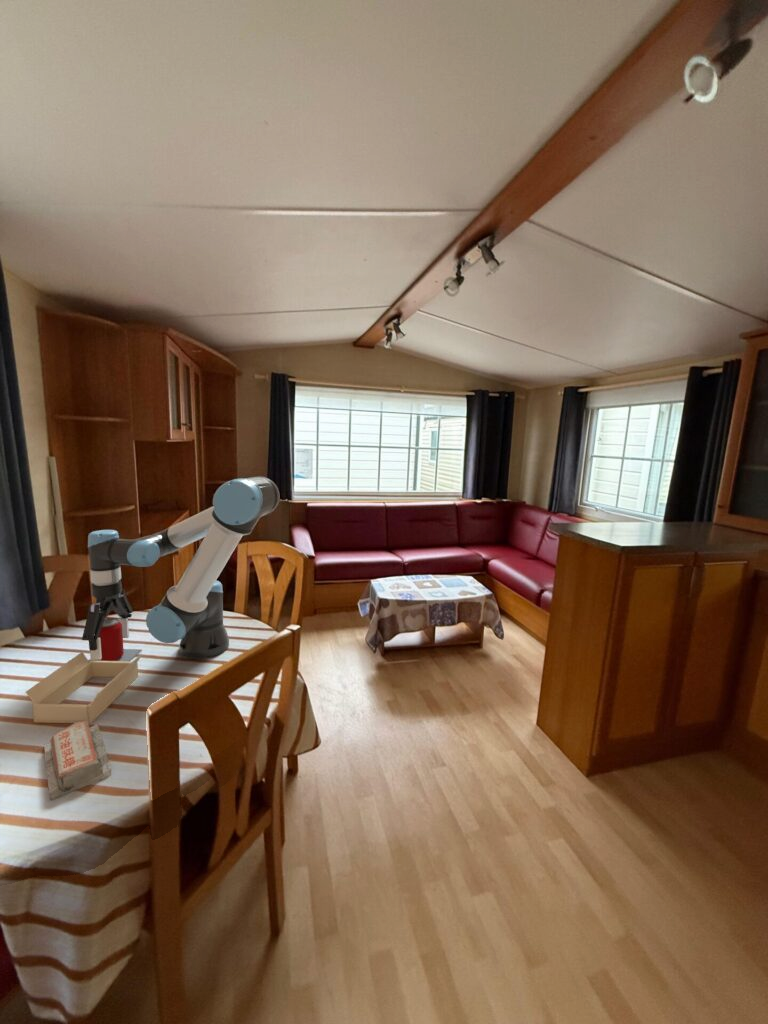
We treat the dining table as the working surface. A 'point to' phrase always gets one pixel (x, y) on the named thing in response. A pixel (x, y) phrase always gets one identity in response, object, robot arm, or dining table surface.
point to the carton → (70, 679)
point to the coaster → (126, 655)
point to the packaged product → (75, 759)
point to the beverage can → (111, 640)
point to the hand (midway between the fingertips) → (110, 647)
